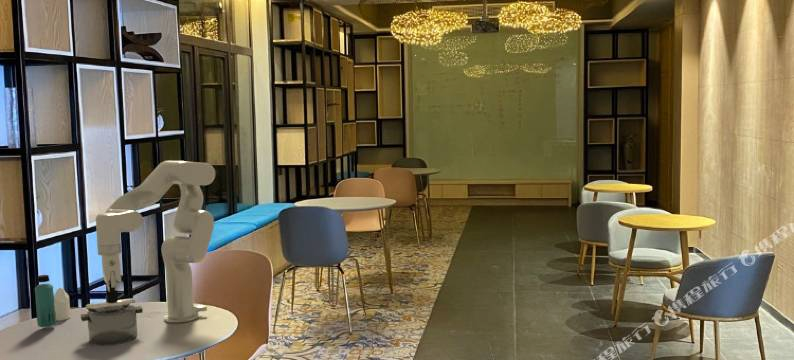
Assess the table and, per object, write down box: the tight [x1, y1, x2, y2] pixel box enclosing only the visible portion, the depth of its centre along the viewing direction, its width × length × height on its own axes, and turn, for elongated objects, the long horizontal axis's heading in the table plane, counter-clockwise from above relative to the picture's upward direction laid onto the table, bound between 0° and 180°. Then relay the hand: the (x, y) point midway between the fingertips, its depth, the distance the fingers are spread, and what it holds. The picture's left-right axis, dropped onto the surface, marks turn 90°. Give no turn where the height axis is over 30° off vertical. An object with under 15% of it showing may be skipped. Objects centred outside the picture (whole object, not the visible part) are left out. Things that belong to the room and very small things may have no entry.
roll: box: [54, 287, 71, 322], centre depth 300 cm, size 6×12×6 cm
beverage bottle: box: [34, 274, 57, 328], centre depth 286 cm, size 6×7×20 cm
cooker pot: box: [80, 302, 144, 346], centre depth 273 cm, size 20×17×11 cm
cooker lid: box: [85, 294, 137, 310], centre depth 272 cm, size 16×16×4 cm
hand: (112, 302), depth 266 cm, fingers closed
